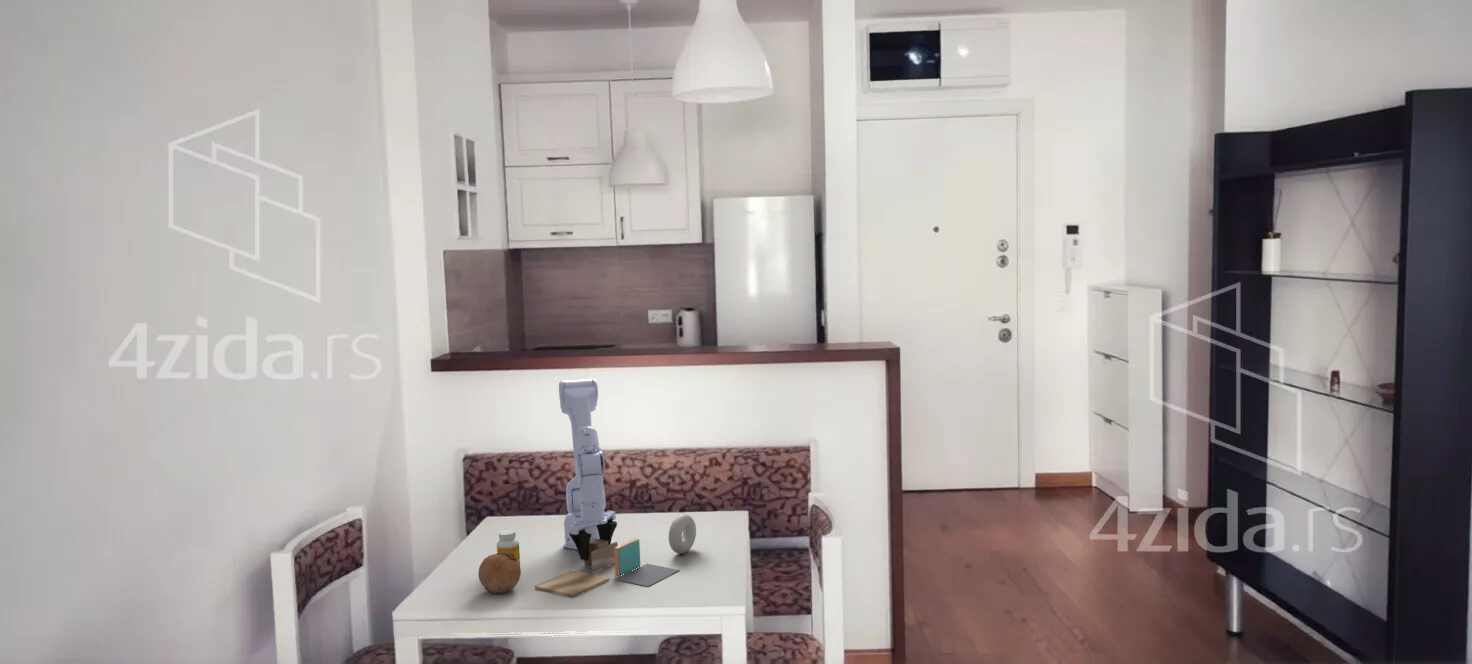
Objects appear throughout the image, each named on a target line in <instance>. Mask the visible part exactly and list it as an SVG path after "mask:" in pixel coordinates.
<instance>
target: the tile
mask: <svg viewBox="0 0 1472 664" xmlns="http://www.w3.org/2000/svg"><path fill="white" fill-rule="evenodd" d="M640 545H641V544H640V538H633V539H631V540H627V541H626V542H624V543H622V544H618V546H617V547H615V548H614V560H615V563H614V576H615V577H616V576H618V577H620V576H621V575H623V574H626V573H628V572H630V571H632V570H634V569H636V568H638V567H640V566H641V550H640V549H641V547H640ZM618 577H617V578H618Z"/></svg>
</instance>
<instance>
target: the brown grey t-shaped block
mask: <svg viewBox="0 0 1472 664" xmlns="http://www.w3.org/2000/svg"><path fill="white" fill-rule="evenodd" d="M617 546H619V542H618V541H613V542H611V544H609V545H608V541H606V540H601V539H596V538H592V539H590V543H589V559H588V560H587V561H586V560H583V561H584V566H586V567H589V566H590V568H591V572H592V573H593V572H594V573H596V571H597V572H599V571H601V570H603V569H605V568H607V567H609V565H610V566H612V565H613V563H614V564H615V560H614V548H615V547H617ZM611 564H612V565H611ZM602 568H603V569H602ZM600 569H601V570H600ZM598 570H599V571H598Z"/></svg>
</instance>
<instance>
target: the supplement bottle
mask: <svg viewBox="0 0 1472 664" xmlns="http://www.w3.org/2000/svg"><path fill="white" fill-rule="evenodd" d="M516 536H517V533H516V530H514V529H506V530H505V529H504V530H501V531H499V532H498V541H497V542H496V554H497V553H500V552H504V551H505V552H506V551H508V552H511V553H512V554H514V556H515V558H517V559H518V560H517V561H518V563H519V565H520V566H521V558H520V555H521V554H520V553H521V552H520V541H519V540H518V539H517V538H516Z"/></svg>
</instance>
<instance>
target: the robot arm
mask: <svg viewBox="0 0 1472 664" xmlns="http://www.w3.org/2000/svg"><path fill="white" fill-rule="evenodd" d="M558 395H559V405H560V409H561V413H562V414H565V415H567V416H568V418H569V420H570V421H569V422H570V426H571V435H572V447H573V449H572V450H573V460H574V461H573V462H574V472H575V476H573V478H572V479H571V480H570V481H569V482H567V484H566V488H565V491H566V493H565V494H566V496H565V498H566V499H565V500H566V501H565V502H566V509H567V512H568V513H567V514H566V515H565V518H564V523H563V525H564V526H563V527H564V529H563V530H564V544H563V545H562V546H563V548H568V549H573V550H576V551H577V552H578V555H579V559H580V560H581V561H584V560H586V561H587V560H588V559H589V543H590V539H592V538H596V539H601V540H606V541H608V545H609V544H611V543H612V538H613V535H614V533H615V530H616V528H617V526H618V522H617V521H615V520H616V517H617V516H616V511H612V510H607V511H605V508H606V506H607V503H606V502H607V499H606V490H605V488H604V479H603V476H604V475H605V468H606V467H605V458H604V454H603V451H602V448H601V447H600V444H599V443H600V442H599V436H598V432H597V430H596V429H595V428H593V427H592V412H594V411H596V408H597V405H598V400H599V387H598V381H597V380H596V378H594V377H592V378H588V379H587V378H585V379H572V380H560V382H558Z"/></svg>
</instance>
